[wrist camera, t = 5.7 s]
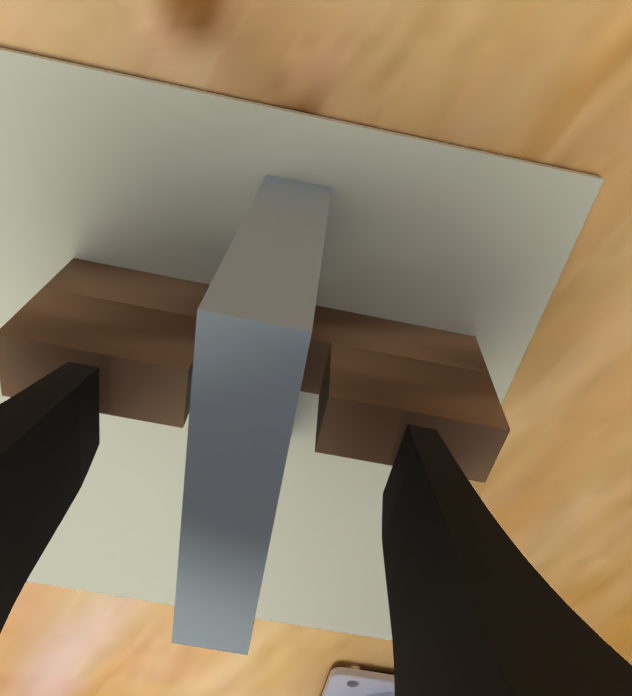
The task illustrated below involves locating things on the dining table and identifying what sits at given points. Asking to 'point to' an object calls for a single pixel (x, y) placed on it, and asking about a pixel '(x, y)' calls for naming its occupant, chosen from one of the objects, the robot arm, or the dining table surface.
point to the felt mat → (202, 264)
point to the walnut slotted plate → (319, 374)
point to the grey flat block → (245, 409)
